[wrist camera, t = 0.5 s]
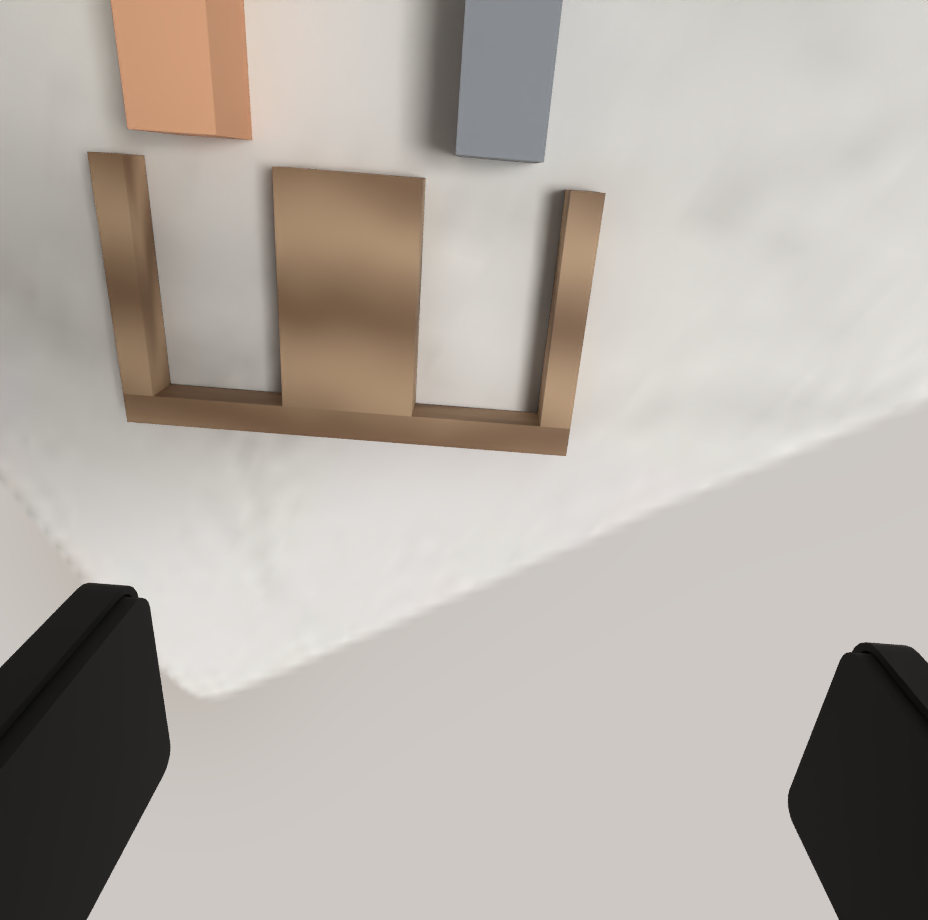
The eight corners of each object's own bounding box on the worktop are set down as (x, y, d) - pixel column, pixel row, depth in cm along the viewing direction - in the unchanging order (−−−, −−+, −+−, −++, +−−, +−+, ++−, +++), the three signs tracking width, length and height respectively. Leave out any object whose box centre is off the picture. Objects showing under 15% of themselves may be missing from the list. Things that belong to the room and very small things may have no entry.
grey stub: (473, -60, 26) (472, -102, 22) (559, -52, 26) (573, -93, 22) (458, 156, 30) (455, 154, 26) (535, 163, 30) (543, 162, 26)
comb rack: (111, 152, 30) (87, 151, 28) (598, 191, 30) (605, 193, 28) (145, 408, 35) (127, 421, 33) (561, 441, 35) (565, 456, 33)
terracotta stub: (154, -85, 26) (93, -132, 22) (239, -79, 26) (195, -125, 22) (176, 134, 30) (127, 128, 26) (253, 139, 30) (216, 135, 26)
